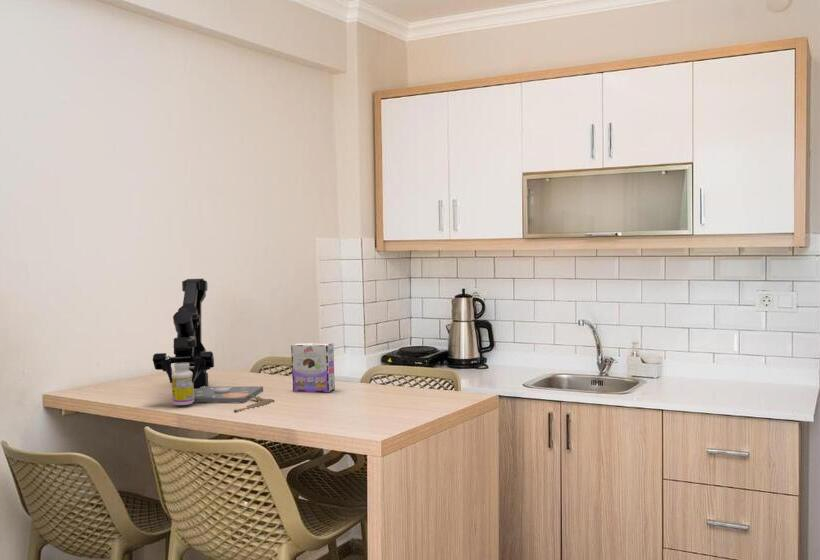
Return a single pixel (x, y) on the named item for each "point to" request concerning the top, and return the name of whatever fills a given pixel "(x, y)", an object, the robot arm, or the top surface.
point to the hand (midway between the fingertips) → (181, 382)
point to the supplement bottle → (182, 384)
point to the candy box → (313, 367)
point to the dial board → (225, 394)
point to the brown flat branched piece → (260, 403)
